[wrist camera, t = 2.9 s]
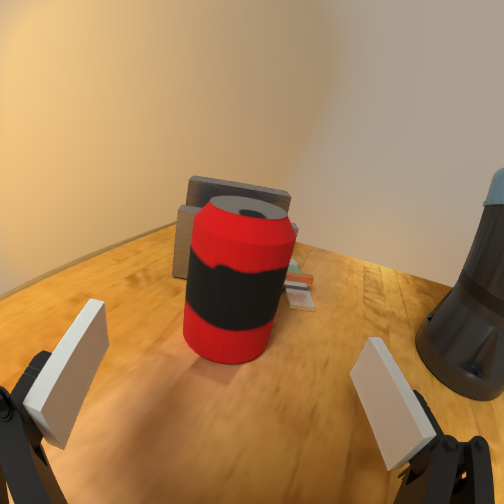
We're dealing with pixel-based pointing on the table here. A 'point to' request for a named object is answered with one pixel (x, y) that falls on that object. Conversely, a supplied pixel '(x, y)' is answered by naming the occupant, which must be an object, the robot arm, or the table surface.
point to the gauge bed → (209, 188)
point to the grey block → (184, 243)
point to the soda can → (235, 277)
